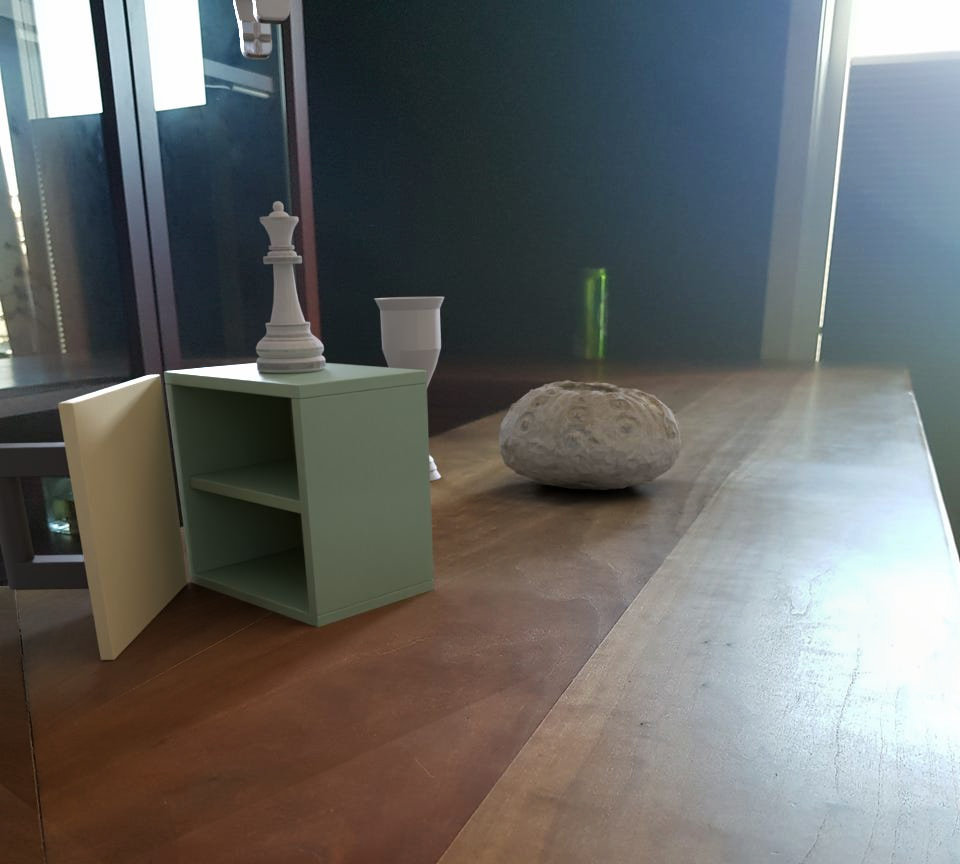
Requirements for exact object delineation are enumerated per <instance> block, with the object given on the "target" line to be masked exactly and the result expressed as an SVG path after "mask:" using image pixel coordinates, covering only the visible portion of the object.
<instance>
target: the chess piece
mask: <svg viewBox="0 0 960 864" xmlns="http://www.w3.org/2000/svg"><path fill="white" fill-rule="evenodd" d="M272 204H273V205H272V209H273V211H272V212H270V213H269V214H268V216H260V217H259V222H260V223H261V224H262V226H263V227H264V229H265V231H266V233H267V235H268V237H269V241H270V244H271V245H268V250H269V252H267V256H263V258H262V261H263V264H264V265H272V267H273V268H272V269H273V303H272V312H271V316H270V321H269V322H266V323H265V329H266V333H265V335H264V336H263V337H262V338H261V339H260V340H259V341H258V342H257V344H256V346H255V352H256V354H257V355H258V356H259V357H257V359H256V360H255V361H256V362H255V363H257V370H258V371H259V372H262V373H274V374H287V373H307V372H316V371H321V370H324V369H325V368H326V363H327V362H326V357H325V356H324V355H322V354H323V353H324V351H325V347H324V344H323V342H322V341H321V340H320V339H319V338H318V337H317V336H315V335H313V333H312V331H311V322H310V321H306V320H305V317H304V314H303V311H302V308H301V305H300V301H299V297H298V296H299V295H298V291H297V287H296V279H295V273H294V265H293V264H302V263H303V257H302V255H297V252H296V251H294V250H295V245H294V244H293V245H292V239H293V238H292V237H293V233H294V231H295V228H296V226H297V224H298V223H299V221H300V219H299V217H298V216H294V215H293V216H291V215H289V214H288V213H287V212H285V211H284V210H285V209H284V204H283V202H281V201H279V200H277V201H274V202H273V203H272Z"/></svg>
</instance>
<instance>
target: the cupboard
mask: <svg viewBox="0 0 960 864" xmlns="http://www.w3.org/2000/svg"><path fill="white" fill-rule="evenodd" d="M163 376H164V384H165V393H166V400H167V409H168V415H169V423H170V430H171V439H172V446H173V454H174V462H175V471H176V477H177V486H178V493H179V501H180V509H181V516H182V524H183V525H182V526H183V531H184V532H183V534H184V540H185V547H186V556H187V563H188V571H189V579H190V583H192V584H195V585H198V586H200V587H203V588H206V589H209V590H212V591H215V592H218V593H220V594H223V595H226V596H228V597H232V598H235V599H237V600H240V601H244V602H246V603H248V604H251V605H254V606H257V607H259V608H263V609H266V610H268V611H271V612H274V613H277V614H280V615H282V616H285V617H288V618H291V619H293V620H296V621H299V622H301V623H305V624H308V625H310V626H313V627H316V628H320V627H323V626H326V625H329V624H334V623H335V622H339V621H341V620H344V619H348V618H351V617H353V616H356V615H360V614H363V613H366V612H369V611H373V610H375V609H378V608H382V607H385V606H387V605H390V604H394V603H397V602H400V601H402V600H406V599H409V598H411V597H414V596H418V595H421V594H424V593H427V592H431V591H433V590H434V589H435V580H434V579H435V576H434V575H435V574H434V573H435V572H434V549H433V546H434V545H433V544H434V543H433V522H432V521H433V520H432V497H431V495H432V494H431V491H432V490H431V481H430V463H429V455H430V439H429V437H430V436H429V411H428V387H427V384H426V371H425V370H414V369H401V368H389V367H386V366H385V367H384V366H371V365H361V364H360V365H358V364H347V363H346V364H345V363H333V362H326V368H325V369H324V370H321V371H316V372H307V373H287V374H274V373H262V372H259V371H258V370H257V363H256V362H251V363H242V364H229V365H219V366H209V367H198V368H197V367H196V368H187V369H186V368H185V369H178V370H177V369H176V370H167V371H166V370H165V371H164V372H163Z"/></svg>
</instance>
